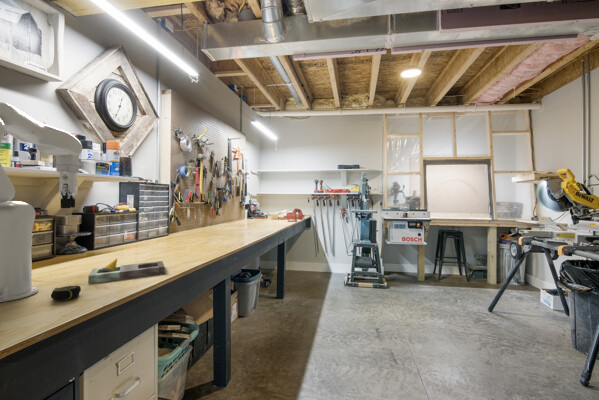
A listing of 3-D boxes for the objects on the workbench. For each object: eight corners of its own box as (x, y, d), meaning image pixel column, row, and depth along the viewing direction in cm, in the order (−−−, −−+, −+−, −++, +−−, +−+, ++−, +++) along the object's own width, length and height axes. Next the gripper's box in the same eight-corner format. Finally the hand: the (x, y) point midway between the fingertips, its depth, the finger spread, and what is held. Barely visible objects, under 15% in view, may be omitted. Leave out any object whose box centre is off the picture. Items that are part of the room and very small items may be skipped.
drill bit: (95, 280, 106) (110, 259, 114) (109, 284, 108) (123, 263, 115) (95, 274, 103) (110, 253, 110) (110, 279, 105) (124, 257, 112)
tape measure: (81, 294, 90) (81, 283, 90) (77, 300, 84) (77, 289, 84) (54, 298, 87) (54, 286, 87) (48, 305, 81) (48, 293, 81)
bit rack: (162, 267, 124) (162, 260, 124) (164, 273, 114) (164, 266, 114) (92, 275, 111) (92, 268, 111) (88, 283, 100) (88, 275, 100)
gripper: (75, 168, 112) (75, 208, 112) (82, 171, 126) (82, 207, 126) (51, 167, 108) (51, 208, 108) (61, 170, 122) (61, 207, 122)
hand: (68, 207), depth 117 cm, fingers open, 9 cm apart
